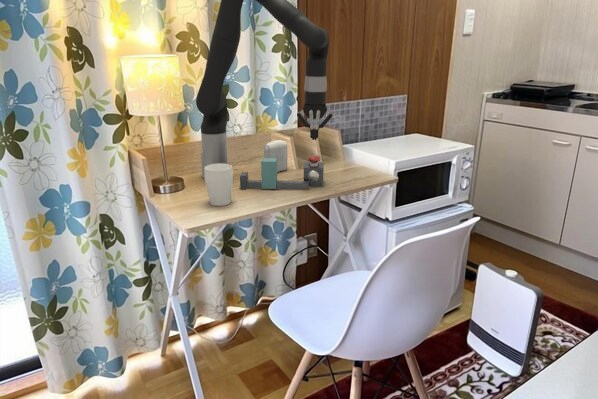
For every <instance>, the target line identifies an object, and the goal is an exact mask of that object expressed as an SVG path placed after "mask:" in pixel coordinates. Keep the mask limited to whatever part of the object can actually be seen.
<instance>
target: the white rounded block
mask: <svg viewBox="0 0 598 399" xmlns="http://www.w3.org/2000/svg"><path fill="white" fill-rule="evenodd" d="M263 158H277V173H278V172H282V171H286V170H288V143H287V141H286V140H285V141H284V140H280V139H275V140H272V141H270V142H268V143H266V144H264V147H263Z"/></svg>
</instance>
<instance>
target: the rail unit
mask: <svg viewBox="0 0 598 399" xmlns="http://www.w3.org/2000/svg"><path fill="white" fill-rule="evenodd" d="M324 164H325V162H324V161H318V166H310V161H304V164H303V180H283V179H282V180H281V179H280V180H278V179H277V181H276V189H275V190H293V191H294V190H296V191H297V189H298V191H300V190H299V189H309V190H310V187H309V186H316V187H315V188H323V187H324V176H325V175H324V171H325V170H324V168H325V166H324ZM239 188H240V191H241V190H244V191H245V190H246V191H247V189H251V190H252V189H253V190H255V189H256V190H258V189H260V190H263V189H262V179H249V172H248V171H242V172H241V173H240V174H239Z"/></svg>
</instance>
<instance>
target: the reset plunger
mask: <svg viewBox="0 0 598 399" xmlns="http://www.w3.org/2000/svg"><path fill="white" fill-rule="evenodd" d="M307 162H310V166H318V162H321V156H319V155H314V154H313V155H309V156H307Z"/></svg>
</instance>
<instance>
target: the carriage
mask: <svg viewBox="0 0 598 399" xmlns="http://www.w3.org/2000/svg"><path fill="white" fill-rule="evenodd" d="M260 168H261V169H260V173H261V174H260V175H261V177H260V178H261V179H260V180H262V189H261V190H277V189H276V181H277V180H278V172H277V158H264V157H262V159H261V160H260Z"/></svg>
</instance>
